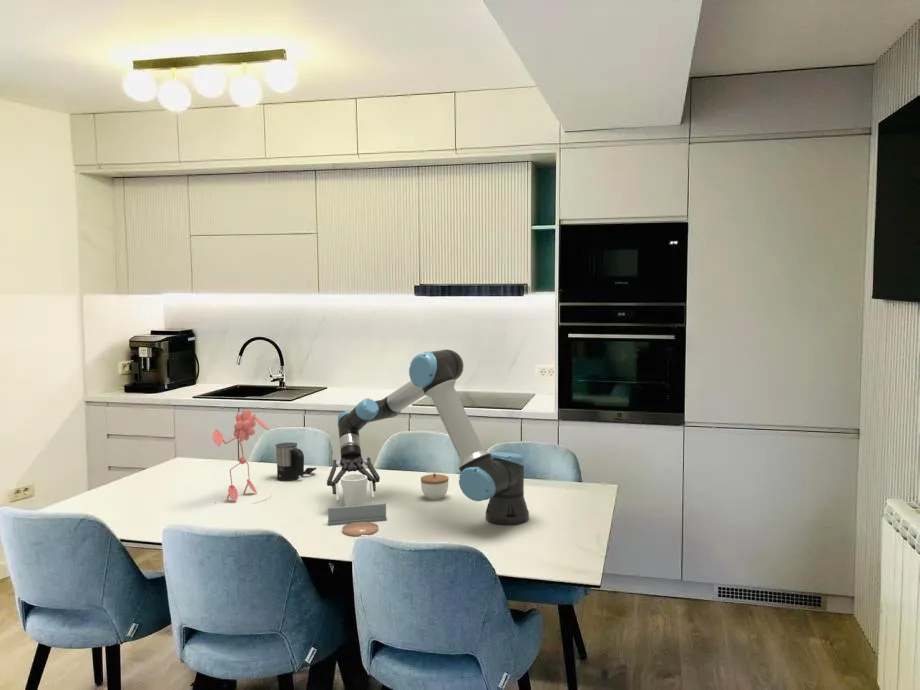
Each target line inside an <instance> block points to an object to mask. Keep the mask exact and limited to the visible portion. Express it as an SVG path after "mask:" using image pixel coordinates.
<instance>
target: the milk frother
mask: <svg viewBox="0 0 920 690" xmlns="http://www.w3.org/2000/svg"><path fill="white" fill-rule="evenodd" d="M297 446H298V442H292V441H291V442H288V441H287V442H281V443H277V444H275V451H276V452H275V453H276V454H275V455H276V468H277V469H276V470H277V473H276V475H277V477H276V481H277V480H278V481H282V482H285V481H286V482H288V481H294V480H298V479H299V478H300V476H303V475H306V474H307V475H309V474H311V473H312V472H314V471H316V470H317V467H307V468H305V455H304V452H303V451H302V450H301V449H300V448H298V447H297Z"/></svg>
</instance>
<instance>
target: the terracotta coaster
mask: <svg viewBox="0 0 920 690" xmlns="http://www.w3.org/2000/svg"><path fill="white" fill-rule="evenodd" d="M378 532H379V525H378V524H377V523H375V522H354V523H350V524H344V526H342V534H344V535H345V536H349V537H362V536H361V535H368V536H371V535H374V534H376V533H378Z"/></svg>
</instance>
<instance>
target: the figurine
mask: <svg viewBox="0 0 920 690" xmlns="http://www.w3.org/2000/svg"><path fill="white" fill-rule="evenodd" d="M235 420H236V423H235V424H234V426H233V427H234V430H233V438H231V439H229V440H228V441H225V440H224V435H223V433H222V432H221V430H218V429H216V428H215V430H214V431H213V433H212V440H213V443H215V444H216V446H218V447H219V448H220V447H221V446H222V443H223V444H225V445H227V444H228V443H230V442H232V441H234V440H235V439H236V440H237V441H238V443H239V445H240V449H241V454H242V456H241V457H240V458H239V459H238V462H239V463H237V464H236V465H234V466H233V467H232V468H230V469H229V476H230V485H229V486H228V494H227V497H226V500H227V501H228V500H229V497H230V499H231V500H232V501H233V502H234V503H236V502H237V500H238V497H239V493H238V490H237V488H236V486H235V485H233V478H232V470H233V469H234V468H236V467H237V466H239V465H240V464H241V465H244V464H247V475H248V478H247V479H246V486H245V489H244V491H243V493H242V494H243V495H245V493H246V491H247V489H248V486H249V488H250V490H251V491H252V492H254V493H255V494H256V495H257V494H258V492H257V489H256V487H255V486H254V483H252V481H251V480H250V467H249V465H250V464H249V463H248V461H247V458H246V457H245V456H244V449H243V448H244V447H243V444H242V442H243V441H248V440H249V438H250V436H253V435H254V434H255V433H256V430H255V429H254V427H255V426H256V424H257V423H258V425H260V426H261V427H262V428H264V429H265V430H267V431H269V430H270V428H269V427H268V426H267V424H265V422H264V421H262V420H261V419H260V418H258V417H256V414H255V413H253V414H252V411H251V409H250V408H248V409H246V410H245V409H244V410H242V411H241V414H240V413H238V414H237V413H236V415H235ZM256 422H257V423H256ZM270 497H272V495H270V496H269V498H266V499H263V500H261V501H258V502H255V504H257V503H261V502H264V501H267V500H268V499H270ZM214 504H216V502H214ZM251 504H252V505H253V504H254V502H252V503H251Z"/></svg>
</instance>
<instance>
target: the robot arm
mask: <svg viewBox="0 0 920 690" xmlns="http://www.w3.org/2000/svg"><path fill="white" fill-rule="evenodd" d="M463 371H464V360H463V359H462V357H461V355H460V354H459V353H458V352H456V351H454V350H451V349H442V350H434V351H424V352H422V353H419V354H416V355H415V356H414V357H413V358H412V359H411V362H410V366H409V369H408V375H409V378H410V381H408V382H407V383H406V384H404V385H402V386H400V387H399V388H397V389H396V390H395V391H393V392H392V393H390V394H389V395H387V396H385V397H384V398H382V399H378V400H374V399H371V398H364V399H362V400H361V401H359V402H358V403H357V405H356V406H355V407H354V408H353V409H352V410H349V409H348V410H347V409H346V410H344V411H341V412H339V414H338V416H337V427H338V436H339V450H340V460H337V459H333V460H332V467H331V470H330V472H329V475H328V477H327V479H326V485H327V486H328V487H332V488H331V489H332V495H335V497H336V499H335V500H336V504H340V497H339V496H340V494H339V484H338V483H340V481H341V477H343V476H345V474H346V473H347V472H349V473H350V472H357V471H358V472H359V474H362V475H366V476H367V481H368V482H369V491H370V499H371V502H373V501H374V499H375V495H374V492H376V490H377V486H376V485H377V484H376V483H379V482H380V479H381V478H380V477H381V476H380V475H379V473H378V472H377V470H376V469H375V467H374V465H373V463H372V462H371V461H372V460H371V458H370V457H367V458H364V459H363V457H362V449H361V440H360V430H361V429H362V428H364V427H365V426H366V425H367V424H369V423H372V422H376V421H382V420H385V419H391V418H395V417H397V416H399V415H400V413H401V412H402V410H403V409H406V408H407V407H410V406H411V405H412V404H414V403H415V402H417V401H418V400H420V399H421V398H423V397H425V396H426V397H429V398H431V400H432V402H433V404H434V407H435V408H436V411H437V413H438V415H439V417H440V419H441V422H442V424H443V426H444V428H445V430H446V433H447V434H448V436H449V438H450V441H451V443H452V446H453V448H454V450H455V451H456V454H457V456H458V459H459V460H460V462H459V466H458V469H459V471H460V474H459V477H458V478H459V480H458V484H459V488H460V491H461V492H462V494H463V495H465V496H466V497H467V498H468V499H470V500H471V501H473V502H474V501H475V502H482V501H486V500H488V504H487V507H486V510H485V520H486V521H488V522H489V523H492V524H495V525H502V526H505V525H507V526H510V525H511V526H515V525H520V524H524V523H526V522H528V521H529V519H530V512H529V509H528V505H527V503H526V500H525V496H524V494H525V493H524V492H525V490H524V489H525V485H524V484H525V482H524V481H525V480H524V477H525V476H524V475H525V469H524V467H525V465H524V464H525V463H524V458H523V456H522V455H521V454H519V453H515V452H505V451H500V452H499V451H498V452H497V451H495V452H491V453H490V452H489V451H486V450H484V448H483V446H482V444H481V441H480V440H479V438H478V436H477V433H476V431H475V428H474V427H473V424H472V422H471V420H470V418H469V416H468V414H467V412H466V409H465V407H464V406H463V403H462V401H461V400H460V397H459V395H458V393H457V391H456V389H455V385H456V383H457V380H458V379H459V378H460V377H461V376H462V375H463V374H462V373H463ZM363 464H364V465H365V466H367V469H368V470H369V471H368V470H366V468H365V467H364V465H363ZM339 466H341V469H340V471H339V472H338V473H337V474H336V476H335V473H336V472H337V468H338V467H339ZM334 476H335V477H334ZM333 478H334V479H333Z"/></svg>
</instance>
